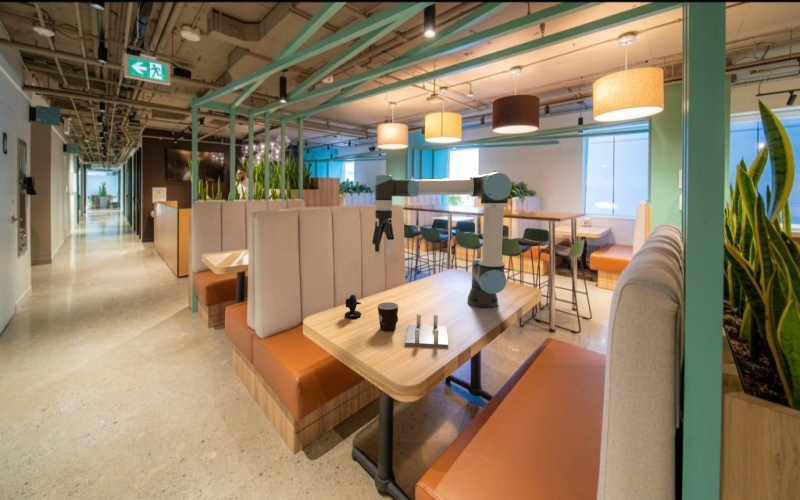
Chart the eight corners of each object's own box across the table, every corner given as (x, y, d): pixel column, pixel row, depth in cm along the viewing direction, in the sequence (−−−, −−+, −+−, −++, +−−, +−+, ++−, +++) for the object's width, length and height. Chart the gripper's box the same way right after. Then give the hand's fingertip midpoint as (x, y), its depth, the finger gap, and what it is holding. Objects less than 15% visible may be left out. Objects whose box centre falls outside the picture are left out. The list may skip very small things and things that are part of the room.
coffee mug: (377, 324, 146) (377, 302, 144) (397, 324, 147) (397, 302, 145) (378, 336, 135) (377, 312, 133) (399, 335, 135) (399, 311, 134)
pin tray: (446, 328, 142) (446, 314, 141) (448, 347, 125) (448, 331, 124) (408, 327, 143) (408, 313, 142) (405, 345, 127) (405, 329, 126)
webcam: (346, 312, 160) (345, 292, 158) (362, 313, 160) (361, 292, 158) (343, 319, 152) (342, 297, 150) (359, 319, 152) (359, 297, 150)
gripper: (386, 208, 166) (386, 250, 170) (364, 211, 143) (364, 260, 147) (400, 208, 164) (400, 251, 167) (380, 211, 140) (380, 261, 144)
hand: (383, 255), depth 157 cm, fingers open, 13 cm apart
